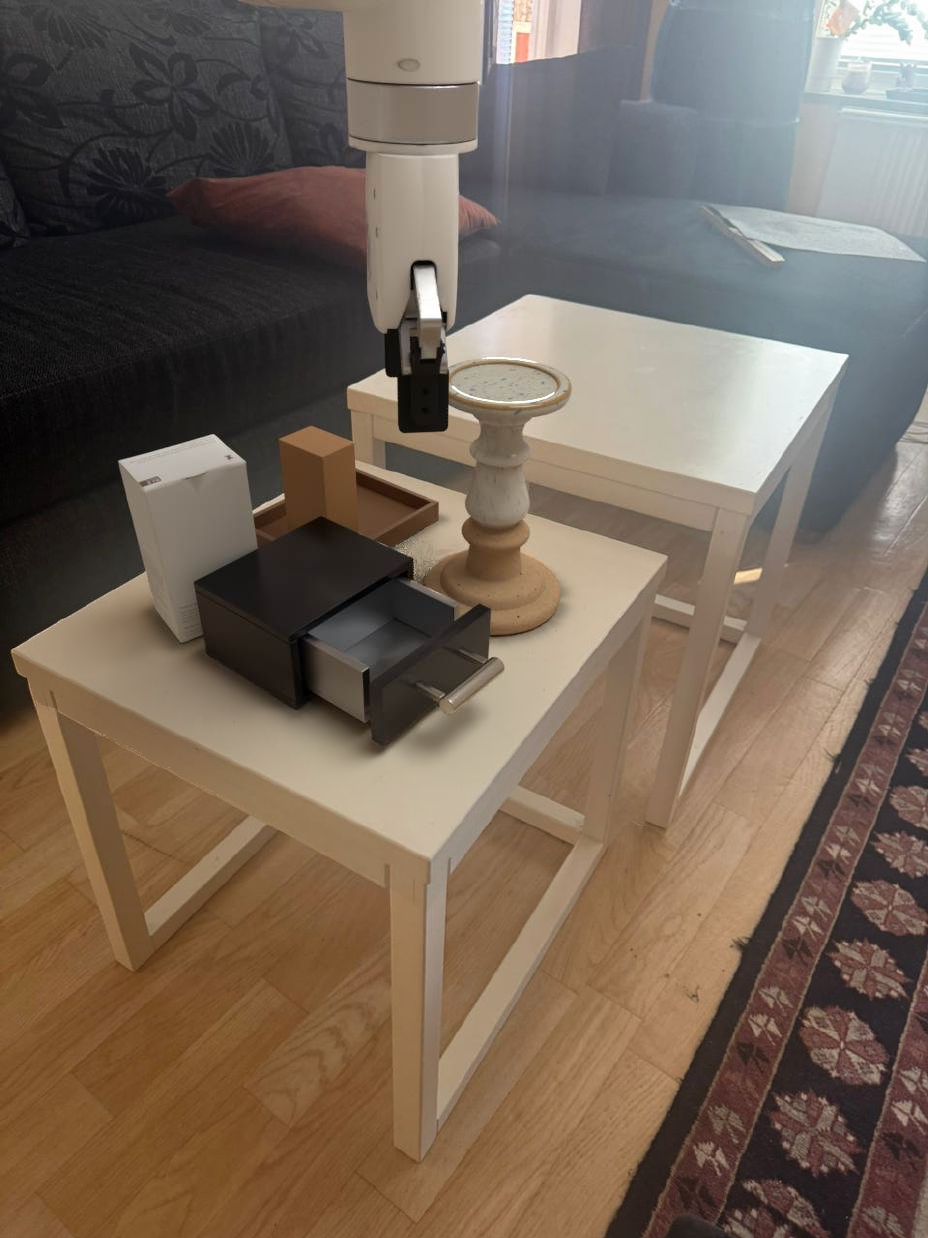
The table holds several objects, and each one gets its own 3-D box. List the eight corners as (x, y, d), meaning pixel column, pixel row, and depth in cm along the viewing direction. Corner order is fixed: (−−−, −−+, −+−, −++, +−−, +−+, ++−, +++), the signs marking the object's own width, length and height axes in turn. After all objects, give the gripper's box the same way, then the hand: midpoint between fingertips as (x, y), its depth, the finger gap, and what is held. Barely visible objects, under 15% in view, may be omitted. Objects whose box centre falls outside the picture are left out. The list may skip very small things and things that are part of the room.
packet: (329, 565, 81) (322, 457, 74) (289, 545, 83) (278, 438, 77) (359, 548, 83) (354, 442, 77) (319, 529, 86) (310, 425, 79)
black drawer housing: (414, 628, 74) (413, 557, 70) (297, 710, 65) (288, 635, 61) (326, 583, 79) (320, 515, 75) (206, 654, 71) (192, 581, 66)
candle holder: (398, 610, 76) (394, 389, 64) (462, 547, 85) (469, 342, 73) (526, 653, 72) (547, 425, 60) (580, 581, 81) (607, 370, 69)
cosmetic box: (240, 582, 79) (217, 429, 70) (270, 614, 75) (250, 457, 66) (149, 613, 75) (114, 454, 66) (177, 648, 71) (143, 485, 62)
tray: (326, 586, 79) (324, 567, 78) (237, 541, 85) (234, 522, 84) (438, 519, 89) (439, 501, 88) (352, 483, 95) (352, 466, 94)
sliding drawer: (526, 681, 68) (531, 627, 64) (423, 771, 60) (424, 714, 56) (398, 617, 74) (398, 564, 71) (290, 690, 66) (284, 635, 63)
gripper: (340, 99, 56) (353, 359, 66) (356, 138, 42) (368, 458, 53) (455, 101, 57) (450, 356, 67) (506, 140, 44) (490, 453, 54)
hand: (414, 401), depth 60 cm, fingers open, 9 cm apart
